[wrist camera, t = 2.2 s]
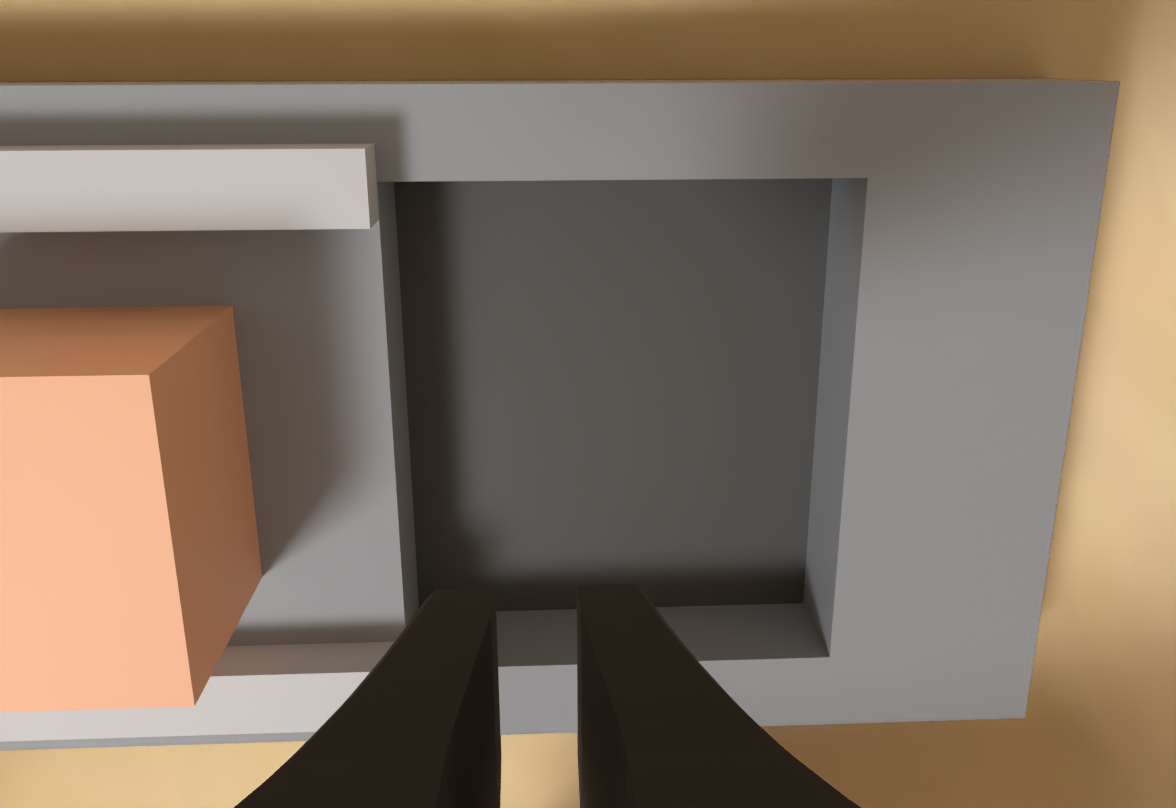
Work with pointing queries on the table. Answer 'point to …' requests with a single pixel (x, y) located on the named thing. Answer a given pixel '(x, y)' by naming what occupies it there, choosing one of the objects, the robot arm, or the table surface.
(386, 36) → the table surface
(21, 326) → the terracotta block
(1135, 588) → the table surface
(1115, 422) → the table surface
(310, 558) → the tunnel deck
